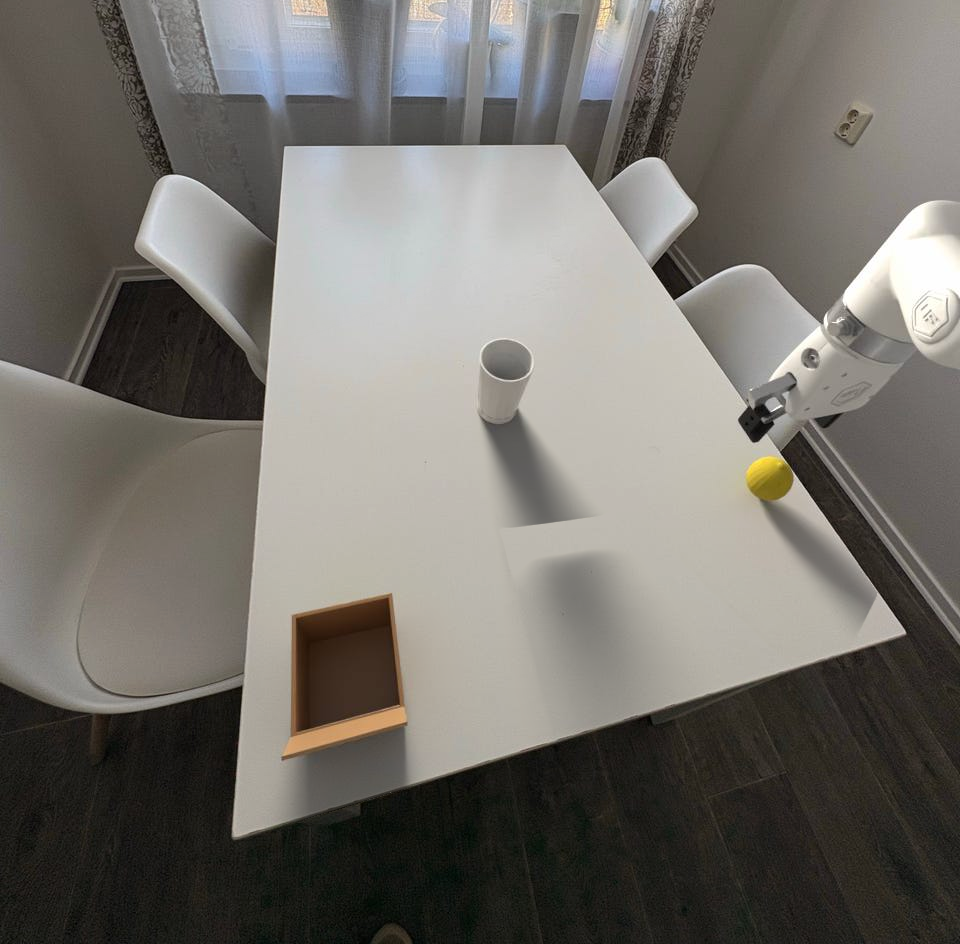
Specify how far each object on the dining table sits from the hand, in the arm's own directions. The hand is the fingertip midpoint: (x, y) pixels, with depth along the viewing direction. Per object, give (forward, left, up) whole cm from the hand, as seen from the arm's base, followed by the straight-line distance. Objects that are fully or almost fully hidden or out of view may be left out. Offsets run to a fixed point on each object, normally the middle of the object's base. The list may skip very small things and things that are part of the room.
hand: (782, 424), depth 62 cm
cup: (+28, +18, -21) cm, 40 cm away
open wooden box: (+7, +52, -21) cm, 56 cm away
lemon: (-3, -8, -21) cm, 22 cm away
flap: (+2, +53, -7) cm, 54 cm away
